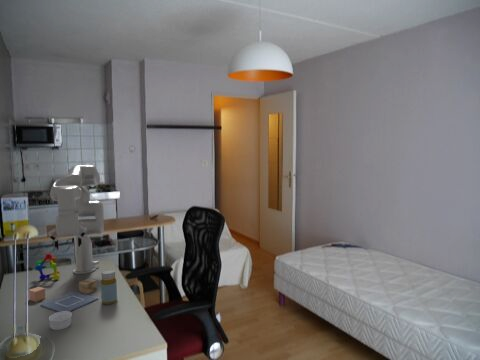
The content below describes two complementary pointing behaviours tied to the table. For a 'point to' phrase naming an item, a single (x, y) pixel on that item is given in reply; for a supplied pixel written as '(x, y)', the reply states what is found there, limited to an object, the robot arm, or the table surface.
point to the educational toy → (53, 266)
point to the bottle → (108, 287)
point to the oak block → (87, 286)
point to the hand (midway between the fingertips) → (68, 247)
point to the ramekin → (60, 320)
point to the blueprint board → (69, 302)
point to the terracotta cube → (37, 294)
